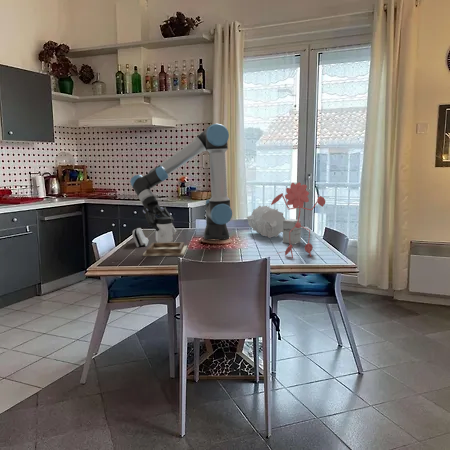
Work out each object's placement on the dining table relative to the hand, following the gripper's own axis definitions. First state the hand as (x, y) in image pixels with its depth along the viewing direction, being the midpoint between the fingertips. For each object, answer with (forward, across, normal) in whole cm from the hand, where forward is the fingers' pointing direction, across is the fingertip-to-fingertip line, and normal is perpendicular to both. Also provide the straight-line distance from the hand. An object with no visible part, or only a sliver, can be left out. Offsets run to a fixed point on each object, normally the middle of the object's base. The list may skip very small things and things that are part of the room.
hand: (168, 234), depth 219 cm
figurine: (+43, -38, +30) cm, 64 cm away
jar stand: (+4, 0, -9) cm, 10 cm away
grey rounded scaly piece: (+12, -68, -1) cm, 69 cm away
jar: (0, 0, -6) cm, 6 cm away
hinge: (-14, -4, -28) cm, 32 cm away
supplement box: (+30, -60, +16) cm, 69 cm away
